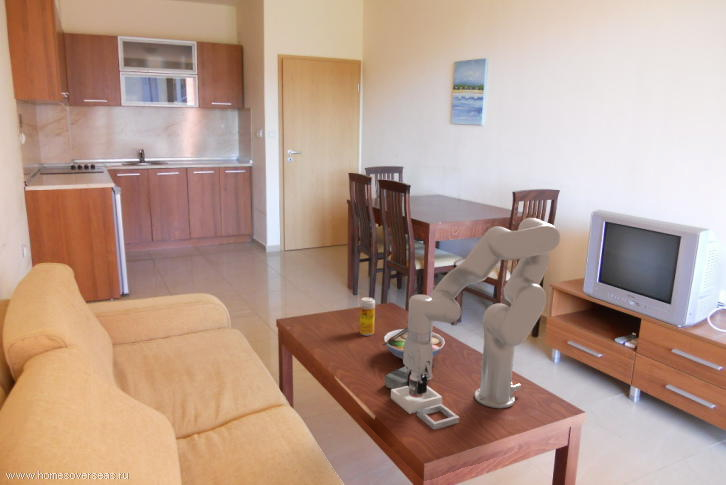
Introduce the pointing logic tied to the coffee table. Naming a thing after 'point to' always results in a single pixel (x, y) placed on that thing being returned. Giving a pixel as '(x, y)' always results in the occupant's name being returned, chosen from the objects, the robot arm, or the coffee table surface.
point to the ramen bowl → (398, 338)
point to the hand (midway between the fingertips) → (416, 388)
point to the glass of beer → (367, 316)
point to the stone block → (397, 378)
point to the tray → (415, 399)
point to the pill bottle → (414, 385)
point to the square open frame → (442, 423)
